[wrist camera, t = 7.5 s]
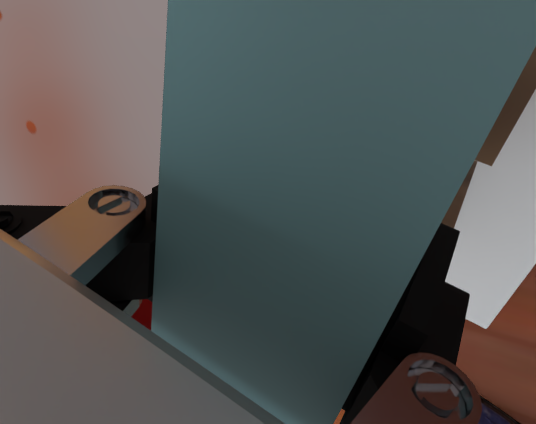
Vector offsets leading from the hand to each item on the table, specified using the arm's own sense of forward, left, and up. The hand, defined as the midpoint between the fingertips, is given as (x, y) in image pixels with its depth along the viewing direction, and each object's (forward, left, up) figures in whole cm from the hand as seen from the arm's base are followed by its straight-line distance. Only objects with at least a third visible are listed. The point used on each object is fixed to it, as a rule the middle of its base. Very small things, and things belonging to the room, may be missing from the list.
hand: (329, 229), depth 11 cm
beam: (0, 0, -1) cm, 1 cm away
